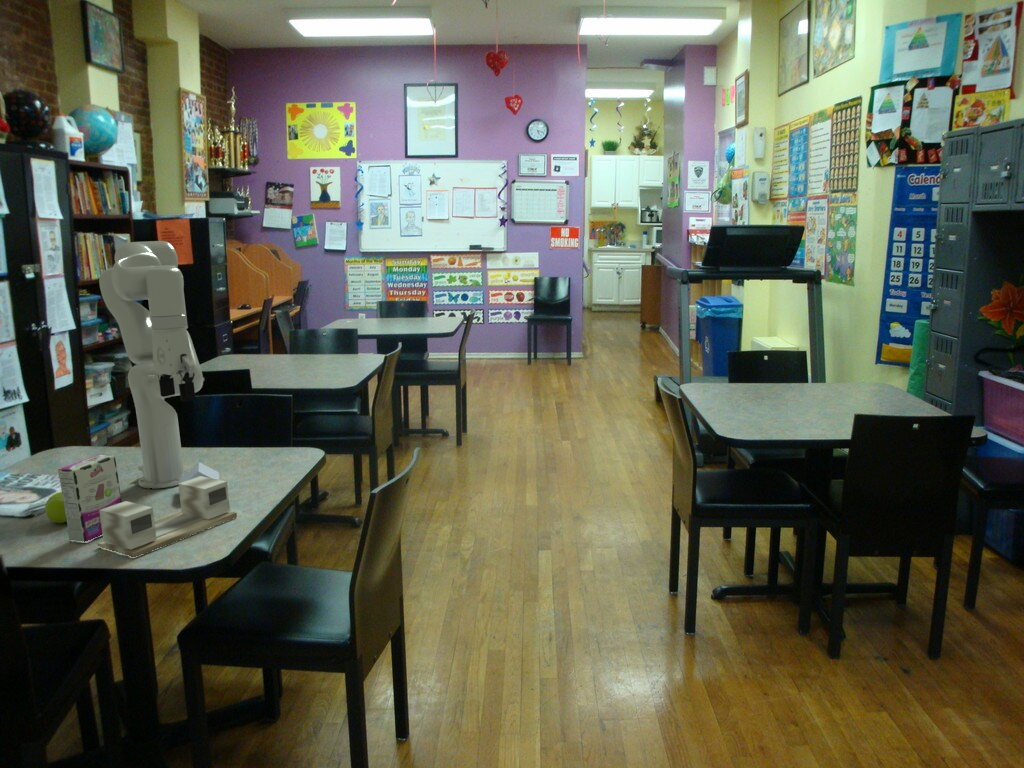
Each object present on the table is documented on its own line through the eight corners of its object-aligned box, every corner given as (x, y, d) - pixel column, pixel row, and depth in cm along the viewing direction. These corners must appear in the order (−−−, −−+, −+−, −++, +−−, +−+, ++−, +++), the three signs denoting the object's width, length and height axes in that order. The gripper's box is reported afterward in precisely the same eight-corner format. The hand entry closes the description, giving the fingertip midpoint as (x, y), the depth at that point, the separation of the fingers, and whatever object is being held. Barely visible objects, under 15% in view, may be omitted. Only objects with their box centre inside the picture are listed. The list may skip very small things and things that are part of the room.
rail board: (98, 548, 174) (92, 509, 173) (201, 509, 196) (198, 474, 194) (133, 559, 168) (128, 518, 167) (237, 517, 190) (233, 481, 188)
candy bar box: (108, 523, 189) (99, 453, 186) (126, 526, 187) (116, 455, 184) (67, 542, 179) (56, 468, 175) (85, 544, 177) (74, 470, 174)
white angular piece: (182, 490, 211) (180, 506, 199) (179, 464, 210) (177, 479, 198) (220, 485, 214) (220, 500, 202) (217, 459, 213) (217, 474, 201)
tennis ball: (56, 517, 194) (51, 488, 193) (87, 516, 195) (83, 487, 193) (41, 528, 187) (37, 498, 186) (74, 526, 188) (69, 497, 186)
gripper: (135, 323, 191) (144, 396, 194) (170, 327, 179) (180, 405, 183) (167, 319, 196) (176, 391, 200) (203, 323, 185) (212, 399, 188)
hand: (178, 397), depth 191 cm, fingers open, 9 cm apart
